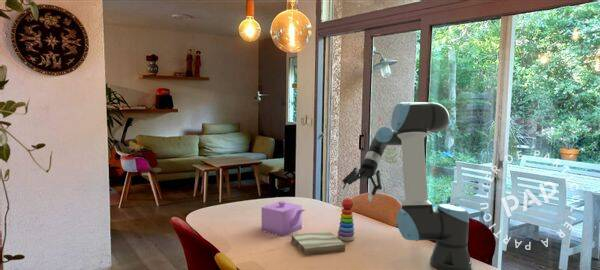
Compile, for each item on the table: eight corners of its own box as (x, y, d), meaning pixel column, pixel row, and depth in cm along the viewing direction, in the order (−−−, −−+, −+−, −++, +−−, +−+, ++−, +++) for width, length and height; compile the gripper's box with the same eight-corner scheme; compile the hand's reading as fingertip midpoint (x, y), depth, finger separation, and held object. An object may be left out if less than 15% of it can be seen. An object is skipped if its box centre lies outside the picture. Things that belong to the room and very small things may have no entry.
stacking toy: (354, 242, 191) (355, 201, 190) (336, 240, 193) (337, 200, 191) (355, 236, 199) (356, 197, 197) (338, 235, 201) (339, 196, 199)
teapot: (295, 239, 194) (295, 209, 193) (253, 229, 209) (254, 201, 207) (313, 231, 206) (314, 203, 205) (273, 222, 221) (273, 195, 220)
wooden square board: (345, 250, 181) (345, 243, 180) (305, 255, 175) (305, 248, 174) (328, 237, 198) (328, 231, 197) (291, 241, 192) (291, 234, 191)
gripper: (396, 169, 208) (382, 206, 198) (351, 164, 223) (335, 198, 212) (392, 160, 204) (377, 197, 193) (346, 155, 218) (330, 189, 207)
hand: (355, 197), depth 202 cm, fingers open, 13 cm apart
